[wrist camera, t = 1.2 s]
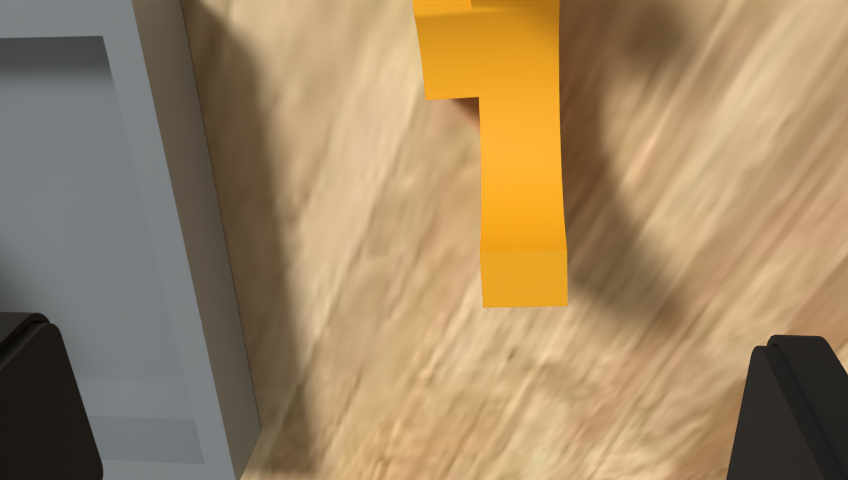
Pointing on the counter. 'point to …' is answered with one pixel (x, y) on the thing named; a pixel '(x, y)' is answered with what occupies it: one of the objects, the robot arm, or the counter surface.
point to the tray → (123, 232)
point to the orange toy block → (507, 134)
